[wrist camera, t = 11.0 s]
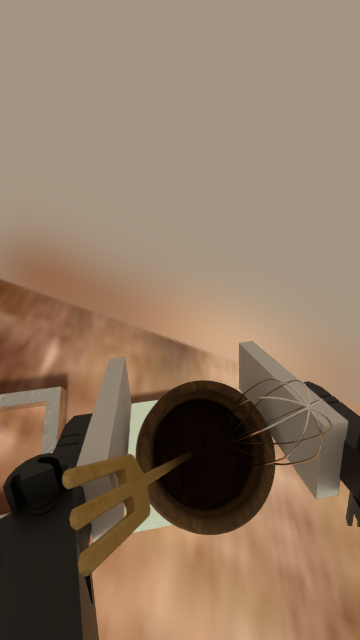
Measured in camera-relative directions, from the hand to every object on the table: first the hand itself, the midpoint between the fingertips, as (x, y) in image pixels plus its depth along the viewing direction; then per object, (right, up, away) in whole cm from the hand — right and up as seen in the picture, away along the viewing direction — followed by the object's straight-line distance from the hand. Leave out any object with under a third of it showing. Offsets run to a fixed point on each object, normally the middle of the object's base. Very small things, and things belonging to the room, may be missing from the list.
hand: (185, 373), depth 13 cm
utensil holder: (0, -5, +2) cm, 6 cm away
